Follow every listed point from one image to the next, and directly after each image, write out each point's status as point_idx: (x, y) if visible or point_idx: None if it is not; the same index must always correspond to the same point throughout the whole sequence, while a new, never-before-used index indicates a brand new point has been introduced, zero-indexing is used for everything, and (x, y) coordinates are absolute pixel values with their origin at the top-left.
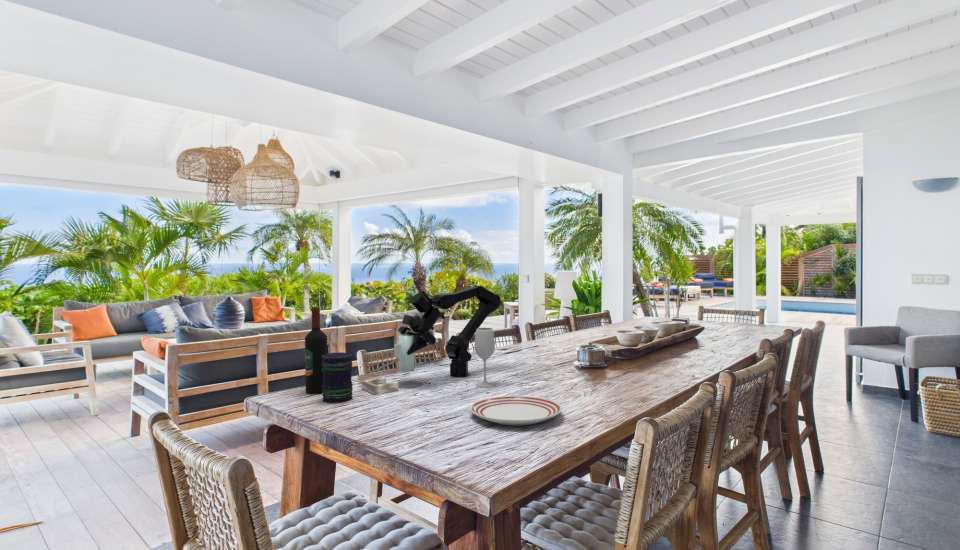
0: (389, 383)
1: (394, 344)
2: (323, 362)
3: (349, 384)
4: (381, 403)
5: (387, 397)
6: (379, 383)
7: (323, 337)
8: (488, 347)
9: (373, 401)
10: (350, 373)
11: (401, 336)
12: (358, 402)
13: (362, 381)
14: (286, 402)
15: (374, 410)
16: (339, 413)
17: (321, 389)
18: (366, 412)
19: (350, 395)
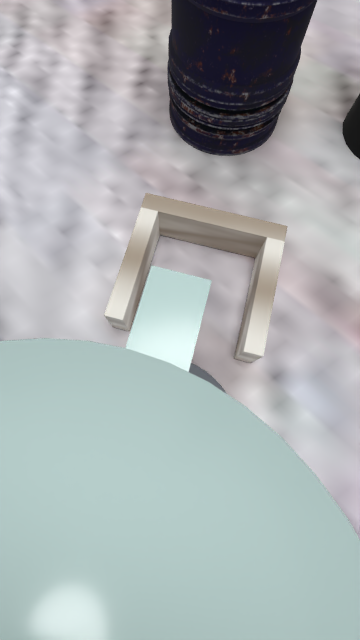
0: (126, 268)
1: (203, 285)
2: None
3: (171, 53)
4: (39, 155)
5: (76, 221)
6: (246, 316)
7: None
8: None
9: (85, 157)
10: (181, 2)
11: (47, 381)
12: (125, 123)
13: (280, 225)
14: (326, 20)
15: (3, 94)
16: (84, 30)
17: (352, 111)
18: (13, 70)
19: (174, 110)
